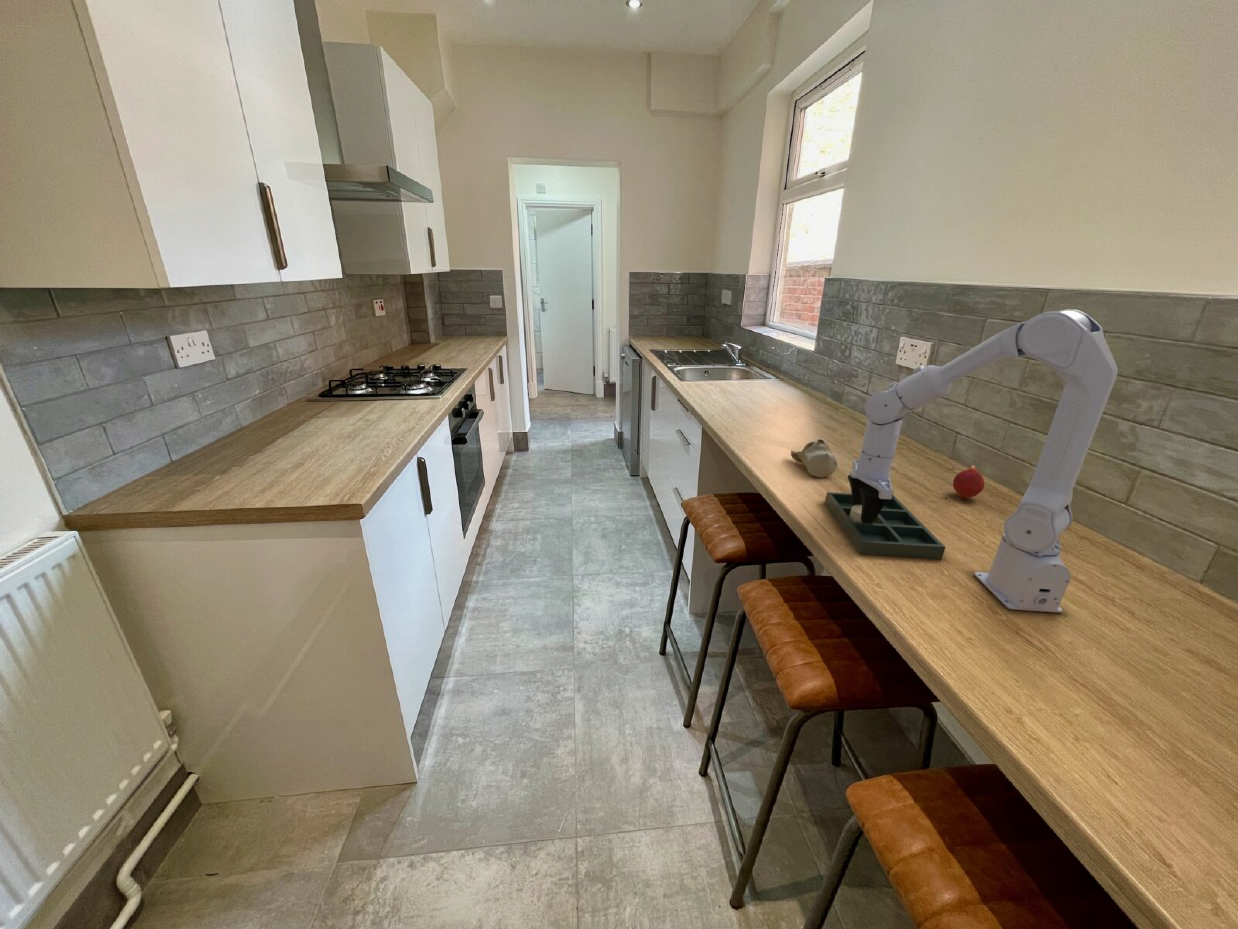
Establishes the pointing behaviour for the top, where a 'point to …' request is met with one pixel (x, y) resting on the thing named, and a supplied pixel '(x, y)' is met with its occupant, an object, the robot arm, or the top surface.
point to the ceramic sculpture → (817, 459)
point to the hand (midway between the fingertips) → (862, 515)
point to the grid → (886, 530)
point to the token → (856, 513)
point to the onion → (968, 483)
